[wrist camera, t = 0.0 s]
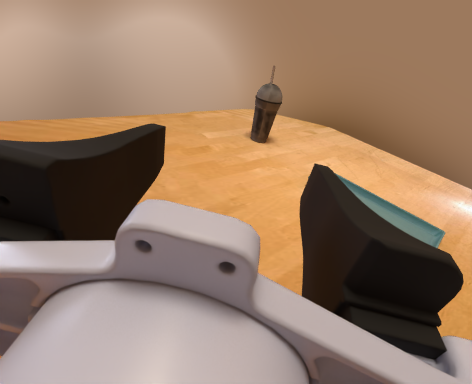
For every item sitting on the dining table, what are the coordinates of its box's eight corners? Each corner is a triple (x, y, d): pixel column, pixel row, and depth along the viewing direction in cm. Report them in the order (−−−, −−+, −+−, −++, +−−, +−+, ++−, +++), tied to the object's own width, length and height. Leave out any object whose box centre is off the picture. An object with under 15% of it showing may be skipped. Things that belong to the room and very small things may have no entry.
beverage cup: (275, 143, 83) (296, 70, 73) (258, 146, 78) (279, 68, 68) (257, 133, 87) (275, 63, 77) (240, 135, 82) (257, 61, 72)
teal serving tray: (440, 239, 55) (447, 229, 54) (429, 259, 49) (437, 248, 47) (323, 177, 69) (327, 168, 67) (303, 186, 62) (307, 176, 61)
